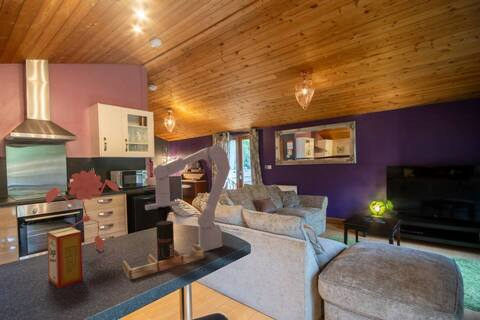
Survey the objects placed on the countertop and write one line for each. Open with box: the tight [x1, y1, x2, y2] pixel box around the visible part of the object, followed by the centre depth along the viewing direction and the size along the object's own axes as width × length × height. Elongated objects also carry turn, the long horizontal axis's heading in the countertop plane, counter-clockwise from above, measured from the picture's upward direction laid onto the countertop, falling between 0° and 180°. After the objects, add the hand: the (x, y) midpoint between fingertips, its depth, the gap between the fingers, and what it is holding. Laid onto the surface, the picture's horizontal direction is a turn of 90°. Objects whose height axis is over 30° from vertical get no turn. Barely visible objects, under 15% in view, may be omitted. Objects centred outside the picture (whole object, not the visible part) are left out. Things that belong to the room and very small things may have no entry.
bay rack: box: [122, 243, 206, 281], centre depth 91 cm, size 27×10×3 cm, turn 126°
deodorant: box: [155, 220, 175, 262], centre depth 91 cm, size 6×6×15 cm
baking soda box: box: [46, 227, 84, 289], centre depth 80 cm, size 10×6×16 cm
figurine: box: [45, 169, 120, 263], centre depth 101 cm, size 15×26×35 cm, turn 136°
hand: (163, 224), depth 107 cm, fingers closed
